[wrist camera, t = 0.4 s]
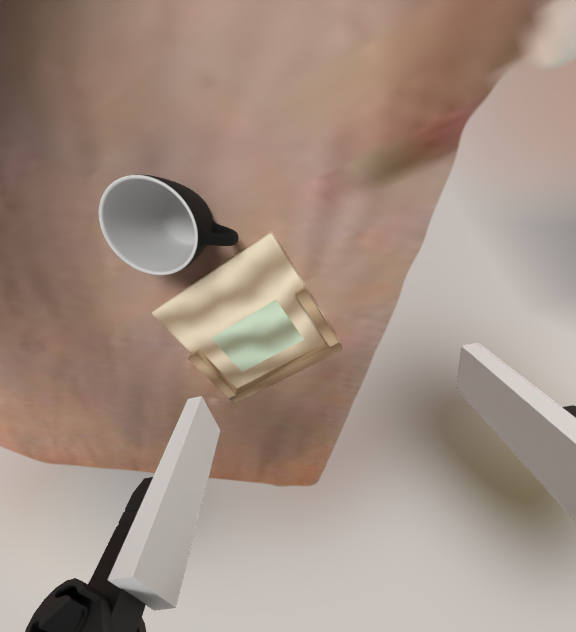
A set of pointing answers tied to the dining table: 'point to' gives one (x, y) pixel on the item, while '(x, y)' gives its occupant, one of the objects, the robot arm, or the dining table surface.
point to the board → (250, 321)
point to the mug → (158, 224)
